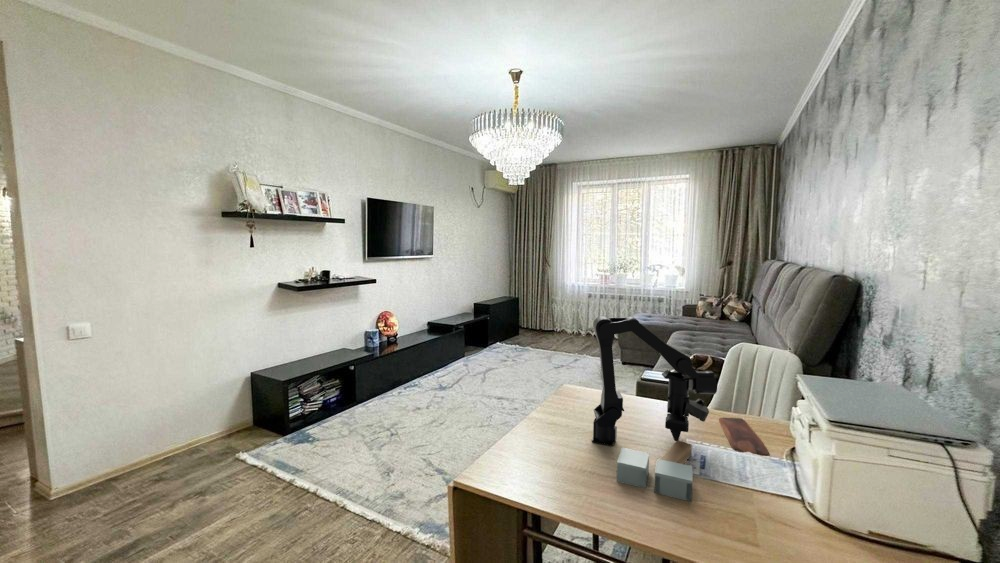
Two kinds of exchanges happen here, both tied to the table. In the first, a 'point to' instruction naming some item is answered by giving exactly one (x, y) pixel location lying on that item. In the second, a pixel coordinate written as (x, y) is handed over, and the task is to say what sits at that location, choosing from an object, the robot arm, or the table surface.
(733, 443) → the wooden tablet
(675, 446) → the brown wooden bar
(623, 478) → the end cap
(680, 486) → the end cap
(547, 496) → the table surface
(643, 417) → the table surface
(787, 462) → the table surface
